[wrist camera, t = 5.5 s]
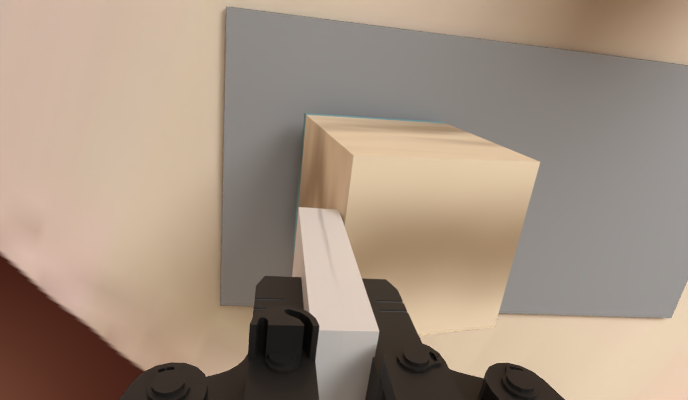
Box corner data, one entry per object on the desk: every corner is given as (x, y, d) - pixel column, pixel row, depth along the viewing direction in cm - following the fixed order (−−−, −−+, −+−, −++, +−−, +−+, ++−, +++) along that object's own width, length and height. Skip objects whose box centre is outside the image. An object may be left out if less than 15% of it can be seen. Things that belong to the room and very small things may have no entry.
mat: (227, 6, 19) (226, 6, 19) (770, 75, 23) (775, 76, 23) (221, 302, 24) (220, 305, 24) (667, 315, 28) (671, 317, 28)
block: (304, 112, 20) (353, 155, 13) (442, 121, 22) (540, 161, 16) (292, 253, 22) (330, 345, 16) (418, 248, 24) (494, 327, 18)
